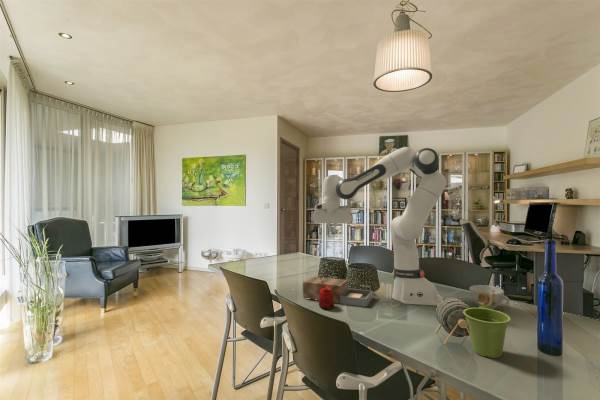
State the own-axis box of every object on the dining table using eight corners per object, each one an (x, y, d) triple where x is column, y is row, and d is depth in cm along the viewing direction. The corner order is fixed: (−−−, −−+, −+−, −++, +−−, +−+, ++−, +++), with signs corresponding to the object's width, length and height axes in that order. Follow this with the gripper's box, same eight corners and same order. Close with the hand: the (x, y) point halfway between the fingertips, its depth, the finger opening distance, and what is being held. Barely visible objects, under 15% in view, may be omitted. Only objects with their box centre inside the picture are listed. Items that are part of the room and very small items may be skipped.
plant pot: (457, 351, 89) (455, 313, 89) (475, 340, 96) (474, 305, 96) (501, 367, 79) (499, 325, 80) (518, 354, 86) (517, 315, 86)
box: (373, 298, 142) (372, 290, 142) (366, 307, 129) (366, 299, 129) (348, 295, 147) (348, 288, 147) (340, 304, 134) (339, 296, 134)
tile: (350, 292, 142) (350, 297, 142) (346, 296, 137) (346, 300, 137) (362, 294, 140) (362, 298, 140) (359, 297, 134) (359, 302, 134)
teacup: (463, 305, 129) (462, 287, 129) (481, 301, 134) (480, 283, 134) (499, 316, 115) (498, 296, 115) (517, 311, 121) (517, 291, 121)
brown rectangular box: (348, 296, 146) (347, 279, 146) (340, 303, 135) (340, 285, 135) (312, 292, 154) (312, 276, 155) (303, 298, 144) (302, 282, 144)
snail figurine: (491, 325, 107) (489, 291, 108) (473, 319, 113) (472, 287, 113) (499, 322, 110) (498, 289, 110) (482, 316, 116) (481, 285, 116)
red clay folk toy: (333, 310, 126) (332, 275, 127) (317, 309, 128) (316, 275, 128) (335, 304, 134) (334, 271, 134) (319, 304, 135) (318, 271, 135)
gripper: (352, 205, 155) (353, 231, 155) (316, 206, 163) (316, 231, 163) (349, 205, 149) (350, 232, 149) (311, 206, 158) (312, 232, 157)
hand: (332, 231), depth 156 cm, fingers closed
